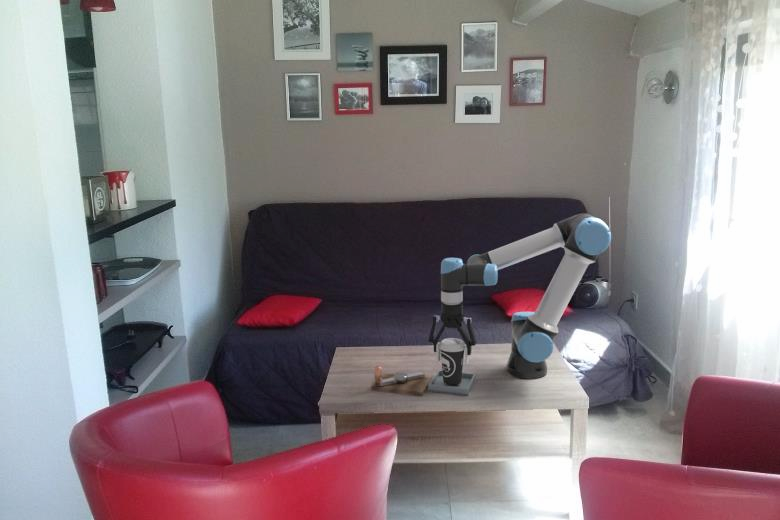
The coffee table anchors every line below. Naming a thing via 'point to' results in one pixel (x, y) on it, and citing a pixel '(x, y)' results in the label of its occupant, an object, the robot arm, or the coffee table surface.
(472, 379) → the tray
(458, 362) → the coffee cup
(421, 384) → the crank base
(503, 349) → the coffee table surface
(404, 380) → the crank
